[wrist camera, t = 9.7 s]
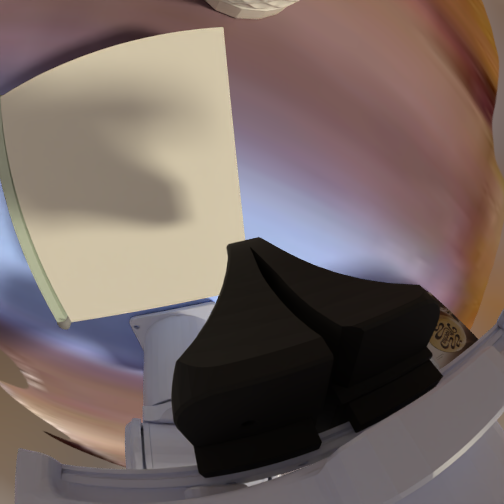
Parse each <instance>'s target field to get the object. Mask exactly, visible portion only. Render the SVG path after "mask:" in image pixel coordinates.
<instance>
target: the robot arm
mask: <svg viewBox="0 0 504 504" xmlns="http://www.w3.org/2000/svg"><path fill="white" fill-rule="evenodd" d="M226 249H227V255H228V261H227V268H226V273H225V277H224V281H223V285H222V288H221V291H220V294H219V296H218V299H217V301H216V303H215V302H207V303H202V304H197V305H192V306H187V307H182V308H177V309H172V310H167V311H162V312H156V313H151V314H145V315H140V316H134V317H131V318H130V325H131V327H132V329H133V331H134V333H135V335H136V337H137V339H138V341H139V343H140V345H141V347H142V349H143V350H144V376H143V399H144V406H143V423H141V419H138V418H133V419H132V421H131V422H129V423H128V424H127V425H126V428H125V457H126V469H103V468H90V467H80V466H71V465H64V464H61V463H60V462H58V461H57V460H55V459H54V458H52V457H50V456H48V455H45V454H43V453H39V452H34V451H30V450H25V449H21V448H20V449H18V455H17V464H16V477H15V504H504V430H503V428H502V427H501V426H500V424H499V423H498V422H497V419H498V418H499V417H500V416H501V414H502V413H503V412H504V309H503V311H502V313H501V314H500V316H499V318H498V320H497V323H496V324H495V325H494V326H493V327H492V328H491V329H490V330H489V331H488V332H487V333H486V334H484V335H483V336H482V337H481V338H480V339H479V340H477V341H476V342H475V343H474V344H473V345H471V346H470V347H469V348H468V349H467V350H465V351H464V352H463V353H462V354H460V355H459V356H458V357H456V358H455V359H454V360H452V361H451V362H450V363H448V364H447V365H446V366H444V367H443V368H441V369H440V370H438V369H437V368H436V366H435V365H434V364H433V363H432V362H431V360H430V359H431V358H432V356H433V355H432V352H431V351H430V350H429V349H428V347H427V345H428V343H429V341H430V339H431V337H432V335H433V332H434V330H435V328H436V326H437V323H438V320H439V316H440V306H439V303H438V302H437V301H436V300H435V299H434V298H433V297H432V296H431V295H430V294H429V293H428V292H427V291H426V290H424V289H423V288H422V287H421V286H420V285H410V284H393V283H384V282H377V281H370V280H365V279H360V278H355V277H351V276H347V275H343V274H339V273H336V272H333V271H330V270H327V269H324V268H321V267H318V266H316V265H313V264H311V263H308V262H306V261H304V260H301V259H299V258H297V257H295V256H293V255H291V254H289V253H287V252H285V251H283V250H282V249H280V248H278V247H276V246H274V245H272V244H271V243H269V242H267V241H265V240H264V239H262V238H259V237H258V238H253V239H249V240H244V241H239V242H235V243H230V244H228V245H227V247H226ZM211 311H212V312H211ZM135 325H138V327H137V326H135ZM308 465H309V466H308ZM305 466H307V467H305ZM302 467H304V468H302ZM299 468H302V469H299ZM296 469H299V470H297V471H294V472H292V473H289V474H286V475H283V476H281V474H284V473H287V472H290V471H293V470H296Z"/></svg>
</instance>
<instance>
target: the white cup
mask: <svg viewBox="0 0 504 504" xmlns="http://www.w3.org/2000/svg"><path fill="white" fill-rule="evenodd" d="M205 1H206V2H207V3H208V4H209V5H211V6H212V7H213V8H214V9H215V10H216V11H219V12H221V13H224V14H227V15H229V16H232V17H234V18H243V19H261V18H265V17H268V16H272V15H276V14H278V13H279V12H281V11H282V10H283V9H285V8H286V7H287V6H289V5H291V4H293V3H295V2H298V1H300V0H205Z"/></svg>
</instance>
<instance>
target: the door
mask: <svg viewBox="0 0 504 504" xmlns="http://www.w3.org/2000/svg"><path fill="white" fill-rule="evenodd" d="M1 96H3V95H0V97H1ZM0 179H1V183H2V188H3V192H4V196H5V199H6V203H7V206H8V210H9V213H10V216H11V220H12V223H13V226H14V229H15V232H16V234H17V237H18V240H19V243H20V245H21V248H22V250H23V253H24V255H25V258H26V260H27V263H28V265H29V267H30V270H31V272H32V274H33V276H34V278H35V281H36V283H37V285H38V287H39V289H40V291H41V293H42V295H43V297H44V299H45V301H46V303H47V304H48V306H49V308H50V310H51V312H52V314H53V315H54V317H55V319H56V321H57V324H58V326H59V327H60V328H62V329H65V330H66V329H69V328H70V325H71V320H70V319H69V317H68V315H67V313H66V312H65V310H64V308H63V306H62V304H61V303H60V301H59V299H58V297H57V295H56V293H55V291H54V289H53V287H52V285H51V283H50V281H49V279H48V277H47V275H46V272H45V270H44V268H43V266H42V264H41V261H40V259H39V257H38V254H37V252H36V249H35V247H34V244H33V242H32V239H31V237H30V234H29V231H28V228H27V226H26V223H25V220H24V217H23V214H22V211H21V207H20V204H19V201H18V197H17V194H16V190H15V186H14V182H13V178H12V174H11V170H10V165H9V160H8V155H7V150H6V144H5V138H4V131H3V122H2V113H1V99H0Z"/></svg>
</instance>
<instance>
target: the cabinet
mask: <svg viewBox="0 0 504 504" xmlns="http://www.w3.org/2000/svg"><path fill="white" fill-rule="evenodd" d="M0 99H1V113H2V122H3V131H4V138H5V144H6V150H7V155H8V160H9V165H10V170H11V174H12V178H13V182H14V186H15V190H16V194H17V197H18V201H19V204H20V207H21V211H22V214H23V217H24V220H25V223H26V226H27V228H28V231H29V234H30V237H31V239H32V242H33V244H34V247H35V249H36V252H37V254H38V257H39V259H40V261H41V264H42V266H43V268H44V270H45V272H46V275H47V277H48V279H49V281H50V283H51V285H52V287H53V289H54V291H55V293H56V295H57V297H58V299H59V301H60V303H61V304H62V306H63V308H64V310H65V312H66V313H67V315H68V317H69V319H70V320H71V322H76V321H82V320H89V319H95V318H101V317H107V316H113V315H119V314H125V313H130V312H136V311H141V310H147V309H152V308H157V307H163V306H168V305H173V304H178V303H183V302H188V301H193V300H198V299H203V298H208V297H212V296H217V295H219V294H220V291H221V288H222V285H223V281H224V277H225V273H226V268H227V261H228V255H227V249H226V247H227V245H228V244H230V243H235V242H239V241H244V240H245V235H244V226H243V216H242V207H241V198H240V188H239V179H238V169H237V160H236V150H235V141H234V131H233V121H232V112H231V102H230V92H229V82H228V72H227V61H226V51H225V41H224V30H223V27H219V28H206V29H196V30H188V31H180V32H174V33H168V34H162V35H157V36H152V37H147V38H142V39H138V40H134V41H130V42H126V43H122V44H119V45H115V46H112V47H108V48H105V49H102V50H99V51H96V52H93V53H90V54H87V55H85V56H82V57H79V58H77V59H74V60H72V61H69V62H67V63H64V64H62V65H60V66H57V67H55V68H53V69H51V70H49V71H46V72H44V73H42V74H40V75H38V76H36V77H34V78H32V79H30V80H29V81H27V82H25V83H23V84H21V85H19V86H18V87H16V88H14V89H13V90H11V91H9V92H8V93H6V94H4V95H3V96H1V97H0Z"/></svg>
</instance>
